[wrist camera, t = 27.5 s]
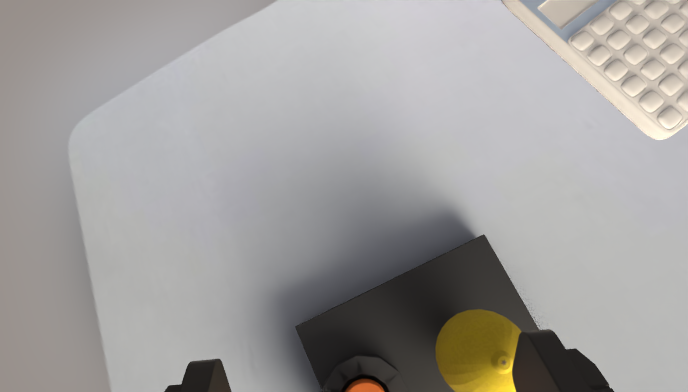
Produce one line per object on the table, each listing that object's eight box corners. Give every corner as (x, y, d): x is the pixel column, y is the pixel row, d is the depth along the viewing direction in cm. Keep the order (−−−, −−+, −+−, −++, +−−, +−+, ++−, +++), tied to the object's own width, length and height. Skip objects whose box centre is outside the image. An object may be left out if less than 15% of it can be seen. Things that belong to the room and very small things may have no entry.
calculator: (655, 147, 35) (672, 139, 34) (492, -2, 40) (499, -17, 38) (752, 62, 38) (772, 49, 36) (587, -71, 42) (598, -89, 40)
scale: (366, 504, 29) (368, 530, 25) (292, 328, 32) (286, 330, 29) (566, 395, 30) (593, 406, 27) (477, 238, 34) (491, 230, 30)
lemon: (481, 298, 30) (526, 294, 23) (516, 373, 29) (576, 396, 21) (413, 326, 30) (435, 331, 22) (445, 403, 29) (480, 438, 21)
